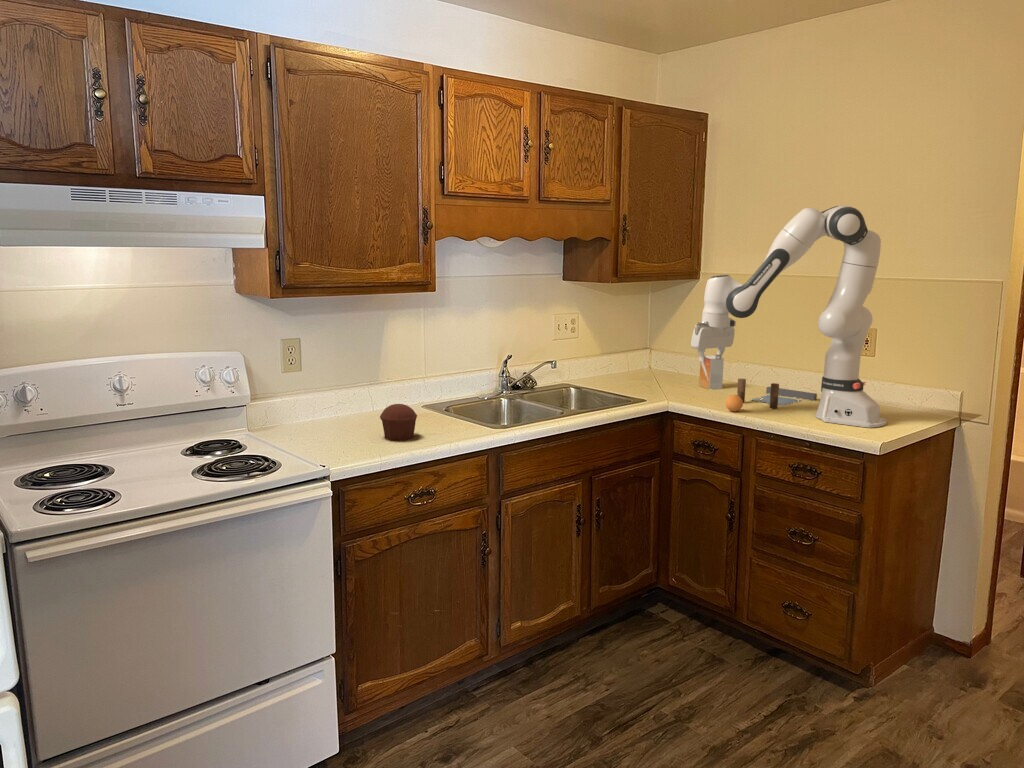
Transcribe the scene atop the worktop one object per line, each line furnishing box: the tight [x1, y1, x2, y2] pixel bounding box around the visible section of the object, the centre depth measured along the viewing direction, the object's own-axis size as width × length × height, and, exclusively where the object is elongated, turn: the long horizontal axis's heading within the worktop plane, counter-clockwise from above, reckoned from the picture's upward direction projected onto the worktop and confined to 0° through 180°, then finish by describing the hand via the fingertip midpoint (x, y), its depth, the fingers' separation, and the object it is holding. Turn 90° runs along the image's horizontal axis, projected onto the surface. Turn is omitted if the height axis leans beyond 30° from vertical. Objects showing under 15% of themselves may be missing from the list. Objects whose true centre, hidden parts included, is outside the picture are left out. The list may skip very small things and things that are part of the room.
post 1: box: [736, 378, 747, 404], centre depth 292 cm, size 3×3×9 cm
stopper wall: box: [765, 386, 818, 401], centre depth 305 cm, size 20×2×2 cm, turn 43°
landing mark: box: [749, 394, 803, 406], centre depth 298 cm, size 14×14×1 cm
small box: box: [698, 355, 724, 390], centre depth 323 cm, size 8×6×13 cm
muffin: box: [379, 403, 418, 442], centre depth 236 cm, size 12×11×10 cm
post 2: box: [768, 382, 780, 410], centre depth 283 cm, size 3×3×9 cm
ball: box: [724, 394, 744, 413], centre depth 277 cm, size 6×6×6 cm
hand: (710, 360), depth 273 cm, fingers open, 8 cm apart
